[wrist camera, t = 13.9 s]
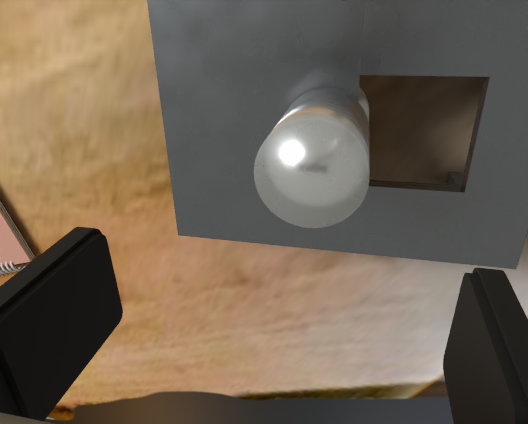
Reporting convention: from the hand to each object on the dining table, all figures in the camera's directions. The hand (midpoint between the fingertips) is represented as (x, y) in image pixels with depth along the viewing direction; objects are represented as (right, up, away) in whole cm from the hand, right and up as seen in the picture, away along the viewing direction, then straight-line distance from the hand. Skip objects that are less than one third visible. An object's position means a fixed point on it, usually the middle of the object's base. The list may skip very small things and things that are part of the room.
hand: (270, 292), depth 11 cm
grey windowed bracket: (+6, +10, +20) cm, 23 cm away
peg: (+4, +9, +17) cm, 20 cm away
